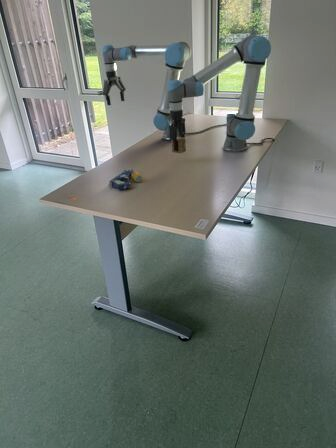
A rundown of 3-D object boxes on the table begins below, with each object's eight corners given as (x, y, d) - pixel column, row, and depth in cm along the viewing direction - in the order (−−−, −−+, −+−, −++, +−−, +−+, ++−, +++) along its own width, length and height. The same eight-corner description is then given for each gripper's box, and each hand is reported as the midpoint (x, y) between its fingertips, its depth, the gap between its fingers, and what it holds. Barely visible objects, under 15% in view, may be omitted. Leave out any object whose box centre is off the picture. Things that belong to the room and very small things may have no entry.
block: (176, 149, 206) (175, 136, 201) (185, 151, 202) (185, 137, 198) (172, 152, 202) (171, 138, 198) (181, 153, 199) (180, 140, 195)
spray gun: (148, 176, 189) (126, 173, 196) (147, 169, 187) (125, 167, 194) (129, 192, 174) (105, 189, 180) (127, 185, 172) (104, 182, 178)
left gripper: (120, 67, 238) (124, 99, 249) (93, 73, 221) (99, 106, 232) (127, 68, 233) (131, 99, 244) (101, 73, 217) (106, 107, 228)
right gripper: (179, 105, 197) (182, 144, 209) (161, 113, 185) (165, 153, 198) (190, 106, 193) (192, 145, 205) (172, 114, 181) (175, 155, 193)
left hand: (116, 103), depth 238 cm, fingers open, 13 cm apart
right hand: (178, 149), depth 201 cm, fingers closed on block, 5 cm apart
